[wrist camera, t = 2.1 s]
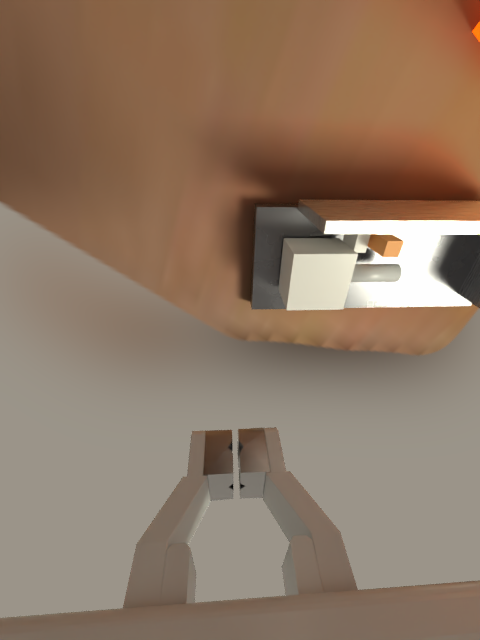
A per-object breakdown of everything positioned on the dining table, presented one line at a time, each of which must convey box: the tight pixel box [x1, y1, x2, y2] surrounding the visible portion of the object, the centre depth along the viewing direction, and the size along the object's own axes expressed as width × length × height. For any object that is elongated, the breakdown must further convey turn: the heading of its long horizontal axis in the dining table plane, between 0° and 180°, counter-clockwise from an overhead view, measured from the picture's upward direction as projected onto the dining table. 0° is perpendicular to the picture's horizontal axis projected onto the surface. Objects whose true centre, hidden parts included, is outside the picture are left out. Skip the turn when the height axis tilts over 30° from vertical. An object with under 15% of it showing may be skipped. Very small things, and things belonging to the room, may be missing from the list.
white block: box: [278, 234, 402, 310], centre depth 23 cm, size 10×7×4 cm, turn 89°
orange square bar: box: [368, 234, 404, 257], centre depth 22 cm, size 1×1×5 cm
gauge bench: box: [251, 200, 480, 309], centre depth 23 cm, size 24×11×8 cm, turn 89°
